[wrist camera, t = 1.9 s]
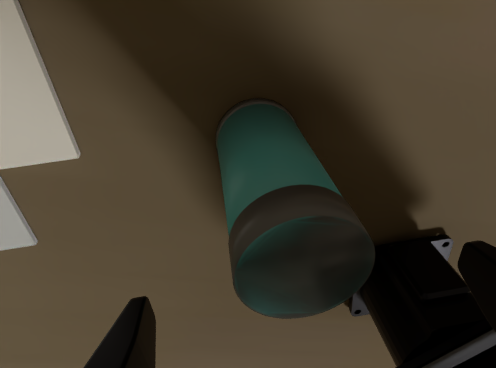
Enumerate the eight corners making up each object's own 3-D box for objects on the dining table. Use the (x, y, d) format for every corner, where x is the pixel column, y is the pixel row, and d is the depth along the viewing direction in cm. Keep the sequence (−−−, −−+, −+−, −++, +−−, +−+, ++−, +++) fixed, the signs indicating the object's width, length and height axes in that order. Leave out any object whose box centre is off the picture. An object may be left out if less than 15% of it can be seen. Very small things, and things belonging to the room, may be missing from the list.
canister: (296, 167, 18) (368, 305, 11) (221, 178, 18) (240, 328, 11) (295, 93, 16) (383, 202, 9) (209, 104, 16) (223, 228, 8)
